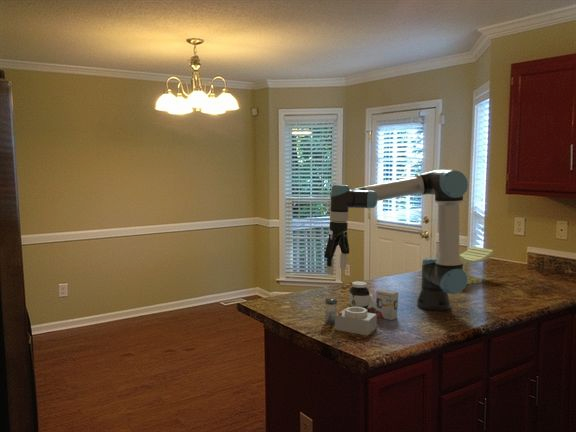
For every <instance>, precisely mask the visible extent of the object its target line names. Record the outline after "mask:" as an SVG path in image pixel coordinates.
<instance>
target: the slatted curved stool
mask: <svg viewBox="0 0 576 432" xmlns="http://www.w3.org/2000/svg"><path fill="white" fill-rule="evenodd" d="M492 255H494V249H489V248H485V247H484V248H483V247H478V246H471V247H469V248H468V249H467V250H465V251H464V252H462V253H459V259H460V260H461V261H462V262H463V271H464V272H465V273H466V274H467V277H468V282H467V284H469V285H472V284H471V283H474V284H477V283H478V282H479V283H483V280H482V278H479V277H476V276H473V275H470V274H468V273H467V272H466V270H465V269H466V267H467V264H473V263H477V262H478V263H479V262H484V260H487V258H490V257H491V256H492ZM435 258H439V251H438V252H436V255H435ZM476 282H477V283H476Z"/></svg>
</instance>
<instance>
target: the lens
mask: <svg viewBox="0 0 576 432" xmlns="http://www.w3.org/2000/svg"><path fill="white" fill-rule="evenodd" d="M337 305H338V299H337V298H331V297H330V298H329V297H328V298H325V325H335V315H336V314H337Z"/></svg>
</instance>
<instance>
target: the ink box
mask: <svg viewBox="0 0 576 432" xmlns="http://www.w3.org/2000/svg"><path fill="white" fill-rule="evenodd" d="M375 295H376V296H375V304H376V308H375V310H374V311H375V313H374V314H377V318H381V319H386V320H390V321H393V320H395V319H396V320H397V318H398V306H399V305H398V304H399V291H395V290H391V289H387V288H380V289H378V290H376V293H375Z"/></svg>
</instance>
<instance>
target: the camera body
mask: <svg viewBox="0 0 576 432" xmlns="http://www.w3.org/2000/svg"><path fill="white" fill-rule="evenodd" d="M368 310H369V309H367V308H366V309H365V308H362V307H351V306H348V307H346V308H344V309H343V310H341V311H339V312H338V313H336V315H335V324H334V330H335V331H340V332H347V333H352V334H355V335H356V334H358V335H362V336H369V335H371V334H372V333H373V332H374V331H375V330H376V329H377V319H378V317H377V314H375V313H373V312H372V313H371V312H368Z"/></svg>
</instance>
